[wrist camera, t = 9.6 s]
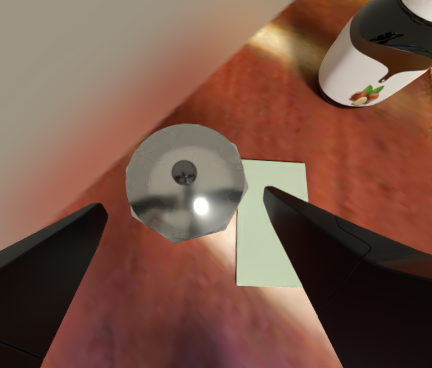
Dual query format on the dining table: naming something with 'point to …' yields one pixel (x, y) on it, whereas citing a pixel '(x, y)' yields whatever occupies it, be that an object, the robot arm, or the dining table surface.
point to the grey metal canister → (185, 182)
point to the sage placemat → (265, 225)
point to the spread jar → (377, 53)
